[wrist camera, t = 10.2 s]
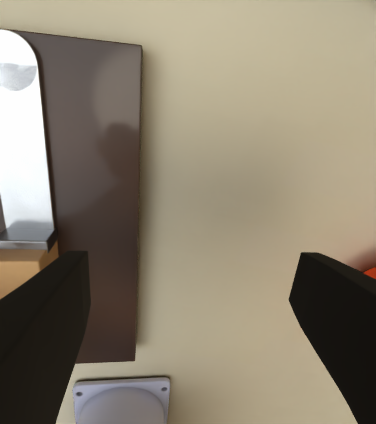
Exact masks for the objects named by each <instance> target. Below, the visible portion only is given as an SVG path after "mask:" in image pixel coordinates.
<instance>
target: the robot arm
mask: <svg viewBox="0 0 376 424" xmlns="http://www.w3.org/2000/svg"><path fill="white" fill-rule="evenodd" d="M289 302H290V304H291V306H292V309H293V311H294V314H295V316H296V318H297V320H298V322H299V324H300V326H301V328H302V330H303V331H304V333H305V335H306V336H307V338H308V340H309V341H310V343H311V345H312V346H313V348H314V350H315V351H316V353H317V354H318V356H319V358H320V359H321V361H322V362H323V364H324V366H325V367H326V369H327V370H328V372H329V374H330V375H331V377H332V378H333V380H334V382H335V383H336V385H337V386H338V388H339V390H340V391H341V393H342V395H343V397H344V398H345V400H346V402H347V404H348V405H349V407H350V409H351V411H352V413H353V415H354V417H355V419H356V421H357V423H358V424H376V279H374V278H372V277H370V276H368V275H366V274H364V273H362V272H360V271H358V270H356V269H354V268H352V267H350V266H348V265H346V264H343V263H341V262H339V261H337V260H335V259H333V258H330V257H328V256H325V255H323V254H320V253H310V252H301V255H300V259H299V263H298V266H297V270H296V274H295V278H294V282H293V285H292V289H291V293H290V297H289ZM90 306H91V293H90V277H89V260H88V251H66V252H65V253H63V254H62V255H61V256H59V257H58V258H57V259H55V260H54V261H53V262H51V263H50V264H49V265H47V266H46V267H45V268H44V269H42V270H41V271H40V272H38V273H37V274H35V275H34V276H33V277H31V278H30V279H29V280H27V281H26V282H25V283H23V284H22V285H21V286H19V287H18V288H16V289H15V290H13V291H12V292H10V293H9V294H7V295H6V296H4V297H3V298H1V299H0V424H56V420H57V417H58V413H59V410H60V407H61V404H62V401H63V398H64V395H65V392H66V389H67V386H68V383H69V380H70V377H71V374H72V371H73V368H74V365H75V362H76V359H77V356H78V353H79V350H80V347H81V344H82V341H83V338H84V335H85V331H86V326H87V322H88V317H89V312H90ZM169 394H170V379H169V378H167V377H159V378H140V379H121V380H101V381H82V382H77V383H75V384H74V386H73V399H74V410H75V420H76V424H167V416H168V405H169Z"/></svg>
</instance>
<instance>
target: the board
mask: <svg viewBox="0 0 376 424" xmlns="http://www.w3.org/2000/svg"><path fill="white" fill-rule="evenodd" d="M0 29H1V28H0ZM7 30H9V29H7ZM10 31H13V32H15V33H17V34H19V35H21V36H23V37H24V38H25V39H27V40H28V41H29V42H30V43H31V45H32V46H33V47H34V49H35V50H36V52H37V54H38V57H39V60H40V65H41V74H42V85H43V95H44V106H45V116H46V127H47V137H48V148H49V158H50V168H51V179H52V189H53V200H54V210H55V221H56V228H57V234H58V239H57V244H58V255H59V256H61V255H62V254H63V253H65V252H66V251H88V260H89V277H90V293H91V306H90V312H89V317H88V322H87V326H86V331H85V335H84V338H83V341H82V344H81V347H80V350H79V353H78V356H77V359H76V362H75V364H79V363H102V362H126V361H135V353H136V320H137V277H138V234H139V191H140V148H141V104H142V61H143V49H142V45H136V44H127V43H119V42H111V41H102V40H94V39H85V38H77V37H68V36H60V35H51V34H43V33H34V32H26V31H18V30H10ZM5 229H6V227H5V221H4V215H3V209H2V203H1V197H0V233H1V232H2V231H3V230H5Z"/></svg>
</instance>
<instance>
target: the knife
mask: <svg viewBox="0 0 376 424" xmlns="http://www.w3.org/2000/svg"><path fill="white" fill-rule="evenodd" d="M0 197H1V203H2V209H3V215H4V221H5V227H6V229H5V230H3V231H2V232H1V233H0V299H1V298H3V297H4V296H6V295H7V294H9V293H10V292H12V291H13V290H15V289H16V288H18V287H19V286H21V285H22V284H23V283H25V282H26V281H27V280H29V279H30V278H31V277H33V276H34V275H35V274H37V273H38V272H40V271H41V270H42V269H44V268H45V267H46V266H47V265H49V264H50V263H51V262H53V261H54V260H55V259H57V258H58V257H59V255H58V244H57V239H58V234H57V228H56V221H55V210H54V200H53V189H52V179H51V168H50V158H49V148H48V137H47V127H46V116H45V106H44V95H43V85H42V74H41V65H40V60H39V57H38V54H37V52H36V50H35V49H34V47H33V46H32V45H31V43H30V42H29V41H28V40H27V39H25V38H24V37H23V36H21V35H19V34H17V33H15V32H13V31H10V30H7V29H0Z"/></svg>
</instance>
